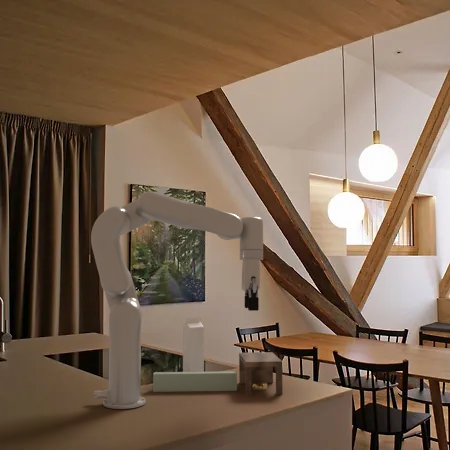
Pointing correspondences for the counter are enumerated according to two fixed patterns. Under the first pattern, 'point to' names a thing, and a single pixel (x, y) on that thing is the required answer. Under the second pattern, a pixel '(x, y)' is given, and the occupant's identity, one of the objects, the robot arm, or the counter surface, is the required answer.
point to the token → (259, 386)
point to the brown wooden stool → (259, 370)
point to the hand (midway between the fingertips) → (251, 309)
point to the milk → (193, 345)
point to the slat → (195, 381)
